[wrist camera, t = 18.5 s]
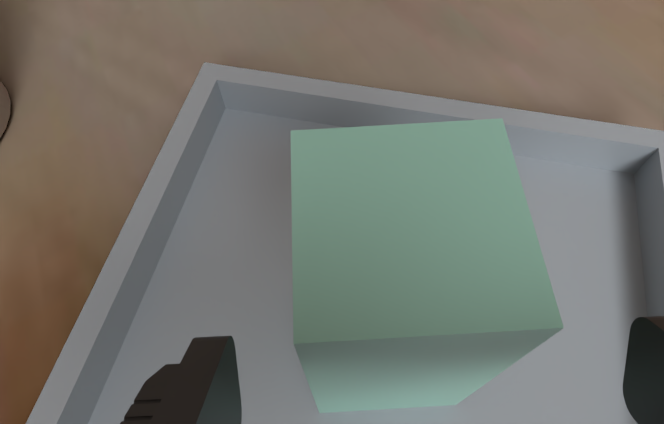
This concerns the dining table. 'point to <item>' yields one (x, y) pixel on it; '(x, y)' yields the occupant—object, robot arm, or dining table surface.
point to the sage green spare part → (412, 263)
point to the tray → (276, 257)
